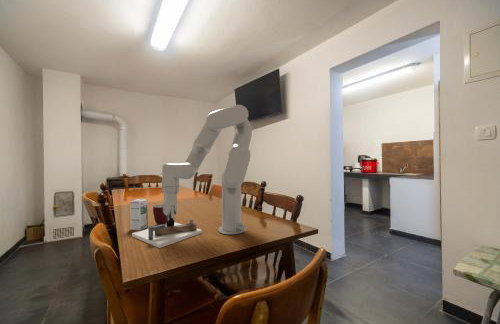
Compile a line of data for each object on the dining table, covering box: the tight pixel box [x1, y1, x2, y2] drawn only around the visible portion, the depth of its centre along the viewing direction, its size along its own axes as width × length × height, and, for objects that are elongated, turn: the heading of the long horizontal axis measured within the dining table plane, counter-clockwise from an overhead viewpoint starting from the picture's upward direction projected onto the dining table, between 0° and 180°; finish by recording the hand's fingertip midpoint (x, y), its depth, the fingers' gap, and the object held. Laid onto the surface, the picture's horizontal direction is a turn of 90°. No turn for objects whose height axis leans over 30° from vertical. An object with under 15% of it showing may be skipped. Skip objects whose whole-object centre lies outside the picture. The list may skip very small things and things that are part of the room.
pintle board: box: [131, 221, 203, 249], centre depth 102 cm, size 22×22×2 cm
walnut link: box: [155, 218, 198, 236], centre depth 102 cm, size 18×5×5 cm, turn 119°
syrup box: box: [129, 198, 149, 231], centre depth 112 cm, size 6×6×14 cm
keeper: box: [147, 224, 166, 240], centre depth 94 cm, size 7×2×5 cm, turn 132°
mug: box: [152, 204, 167, 225], centre depth 119 cm, size 11×8×10 cm
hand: (170, 228), depth 103 cm, fingers closed
